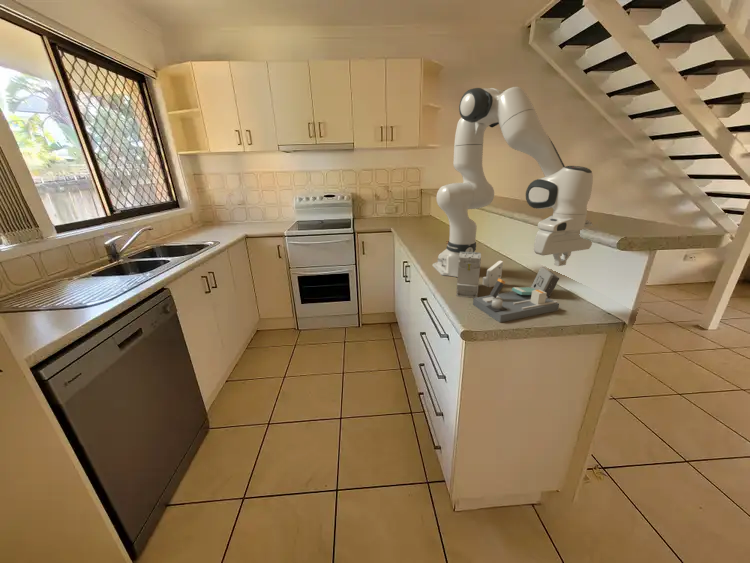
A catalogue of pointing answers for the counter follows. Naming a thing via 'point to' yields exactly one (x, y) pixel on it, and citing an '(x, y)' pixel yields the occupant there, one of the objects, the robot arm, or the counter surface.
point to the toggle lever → (497, 288)
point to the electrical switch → (545, 281)
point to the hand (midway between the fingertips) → (559, 265)
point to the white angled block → (493, 274)
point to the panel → (514, 306)
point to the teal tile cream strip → (523, 290)
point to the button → (497, 303)
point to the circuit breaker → (468, 274)
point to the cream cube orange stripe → (538, 297)
